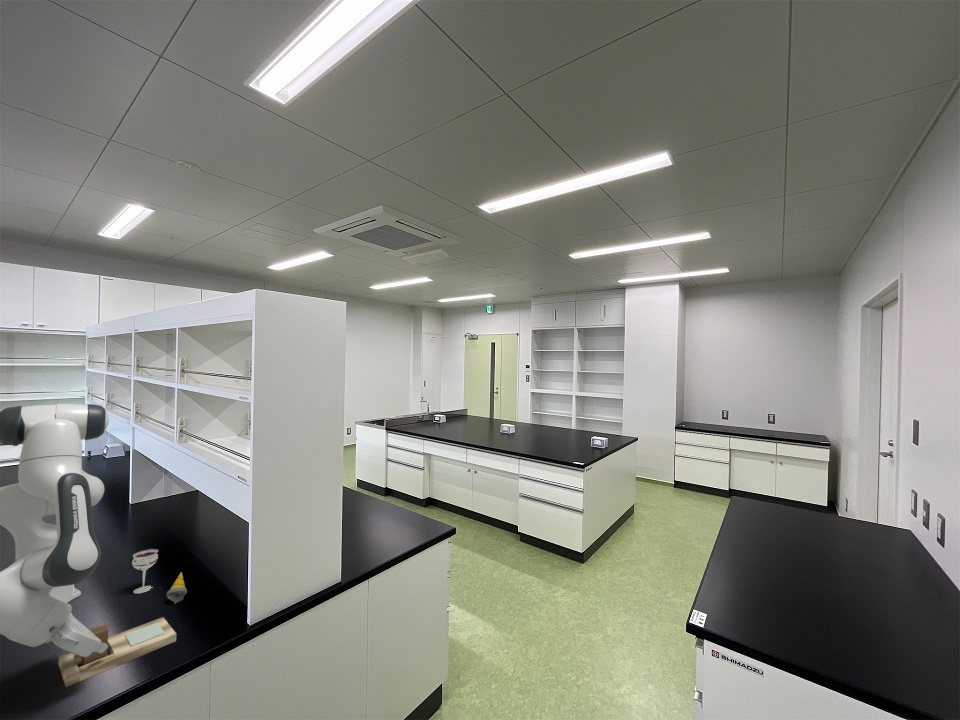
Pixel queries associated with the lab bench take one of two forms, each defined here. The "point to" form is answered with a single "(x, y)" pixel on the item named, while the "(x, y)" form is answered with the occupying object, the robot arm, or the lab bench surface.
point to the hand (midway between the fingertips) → (97, 642)
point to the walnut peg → (102, 634)
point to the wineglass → (144, 565)
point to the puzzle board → (119, 650)
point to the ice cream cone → (177, 590)
